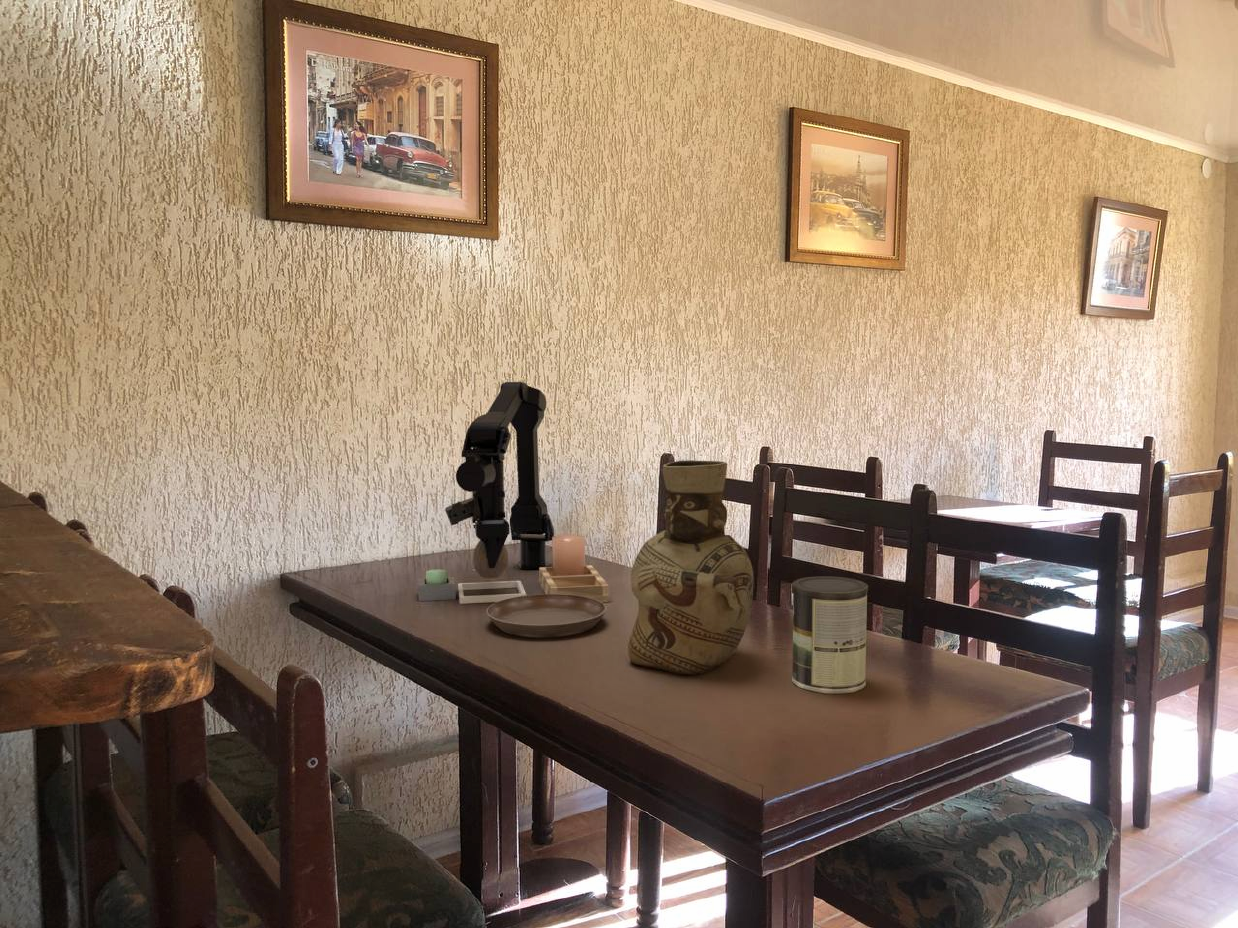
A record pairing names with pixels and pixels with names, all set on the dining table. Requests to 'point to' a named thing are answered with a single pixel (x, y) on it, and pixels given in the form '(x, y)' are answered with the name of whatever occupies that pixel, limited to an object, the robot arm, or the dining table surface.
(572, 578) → the pallet
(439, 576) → the button
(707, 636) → the ceramic vessel
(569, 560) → the block
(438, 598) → the button housing
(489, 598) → the white square frame
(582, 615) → the plant saucer
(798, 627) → the coffee can
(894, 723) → the dining table surface
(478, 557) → the vase
